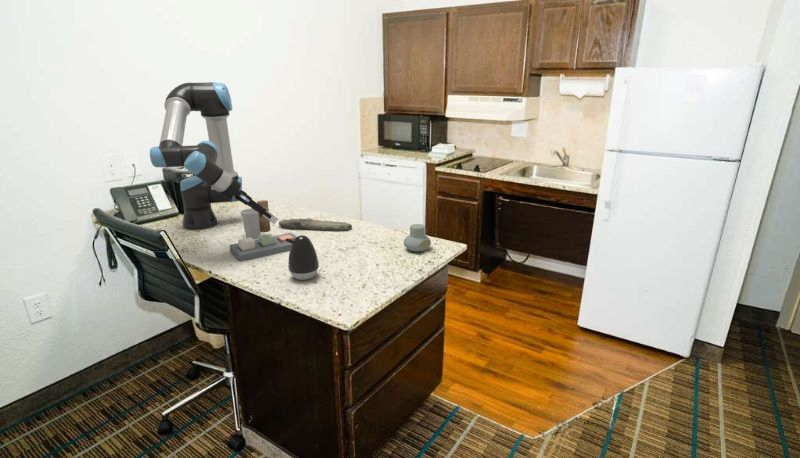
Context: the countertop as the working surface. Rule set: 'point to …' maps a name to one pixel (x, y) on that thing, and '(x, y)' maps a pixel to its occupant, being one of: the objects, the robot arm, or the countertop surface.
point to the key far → (283, 239)
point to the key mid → (266, 239)
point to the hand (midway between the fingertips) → (273, 220)
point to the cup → (251, 223)
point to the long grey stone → (314, 225)
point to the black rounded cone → (302, 258)
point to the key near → (246, 243)
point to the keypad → (261, 249)
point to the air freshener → (417, 239)
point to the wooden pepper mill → (262, 220)
